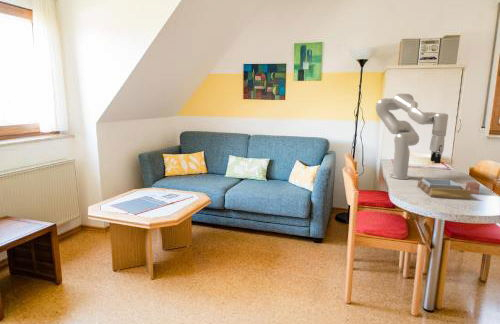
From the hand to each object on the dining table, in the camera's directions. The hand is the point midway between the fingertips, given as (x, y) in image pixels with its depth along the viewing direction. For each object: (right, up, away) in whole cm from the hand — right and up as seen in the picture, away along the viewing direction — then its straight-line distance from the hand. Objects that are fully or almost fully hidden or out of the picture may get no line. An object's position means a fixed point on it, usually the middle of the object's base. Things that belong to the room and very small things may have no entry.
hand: (435, 161), depth 203 cm
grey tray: (-2, -16, -9) cm, 19 cm away
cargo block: (+15, -18, -11) cm, 26 cm away
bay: (-3, -18, -11) cm, 22 cm away
